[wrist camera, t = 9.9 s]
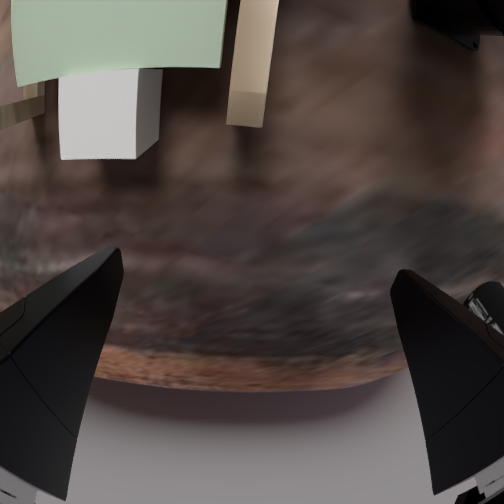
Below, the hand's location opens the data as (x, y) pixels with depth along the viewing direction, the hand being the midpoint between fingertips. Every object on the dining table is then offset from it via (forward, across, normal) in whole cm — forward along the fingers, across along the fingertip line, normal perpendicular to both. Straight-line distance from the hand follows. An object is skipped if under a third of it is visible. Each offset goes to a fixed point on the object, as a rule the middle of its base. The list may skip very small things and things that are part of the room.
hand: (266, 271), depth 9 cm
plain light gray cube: (+11, +9, -6) cm, 15 cm away
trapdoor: (+8, +9, -12) cm, 17 cm away
